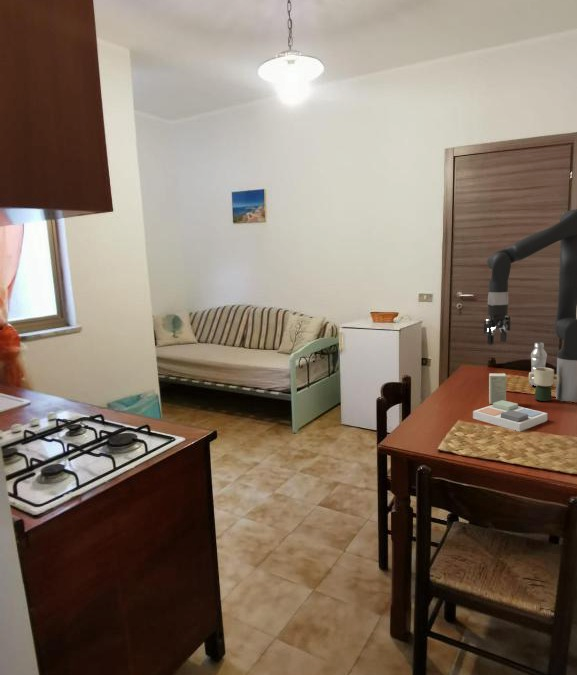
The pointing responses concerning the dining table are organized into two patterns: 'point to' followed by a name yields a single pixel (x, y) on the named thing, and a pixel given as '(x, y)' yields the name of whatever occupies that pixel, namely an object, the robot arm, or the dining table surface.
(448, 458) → the dining table surface
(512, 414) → the key charcoal
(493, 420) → the white flat square tray
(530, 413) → the key slate
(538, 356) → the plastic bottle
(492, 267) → the robot arm
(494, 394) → the skincare box
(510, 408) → the key sage
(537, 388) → the character mug
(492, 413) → the key terracotta
